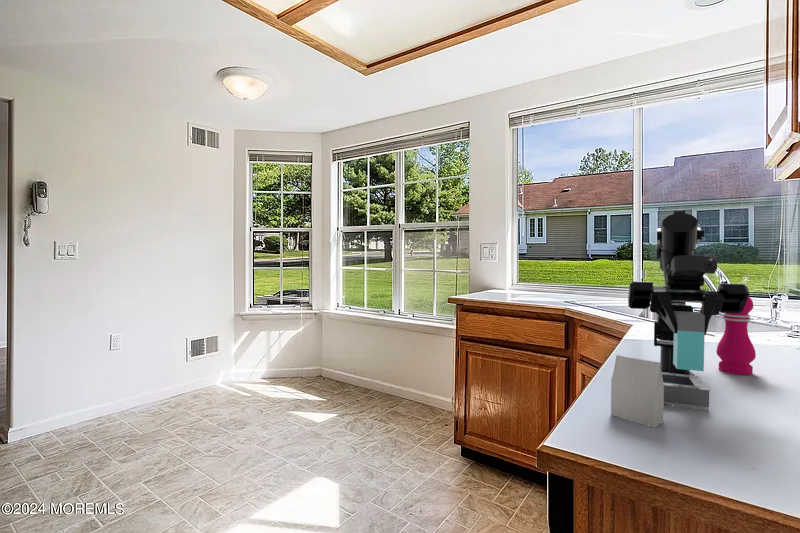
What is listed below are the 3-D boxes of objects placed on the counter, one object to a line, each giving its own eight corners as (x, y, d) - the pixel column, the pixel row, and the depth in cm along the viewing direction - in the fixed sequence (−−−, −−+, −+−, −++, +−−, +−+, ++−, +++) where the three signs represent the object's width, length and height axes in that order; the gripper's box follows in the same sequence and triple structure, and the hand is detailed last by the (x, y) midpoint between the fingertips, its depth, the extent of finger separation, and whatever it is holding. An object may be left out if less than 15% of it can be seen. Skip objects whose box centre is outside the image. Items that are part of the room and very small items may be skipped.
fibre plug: (673, 363, 80) (674, 311, 80) (698, 365, 79) (699, 312, 78) (677, 368, 77) (678, 313, 76) (703, 371, 75) (704, 315, 75)
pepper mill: (747, 369, 102) (748, 285, 101) (761, 377, 95) (763, 287, 94) (711, 366, 104) (713, 285, 104) (722, 374, 97) (724, 287, 97)
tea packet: (654, 427, 67) (655, 364, 67) (610, 415, 72) (611, 356, 72) (663, 421, 69) (664, 361, 69) (620, 410, 75) (621, 353, 74)
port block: (639, 387, 87) (639, 369, 87) (697, 394, 83) (698, 375, 83) (643, 402, 78) (643, 382, 78) (709, 410, 74) (709, 390, 74)
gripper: (630, 240, 84) (634, 302, 75) (747, 239, 77) (769, 308, 67) (626, 278, 92) (630, 338, 82) (733, 280, 84) (750, 347, 75)
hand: (690, 332), depth 76 cm, fingers closed on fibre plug, 4 cm apart
